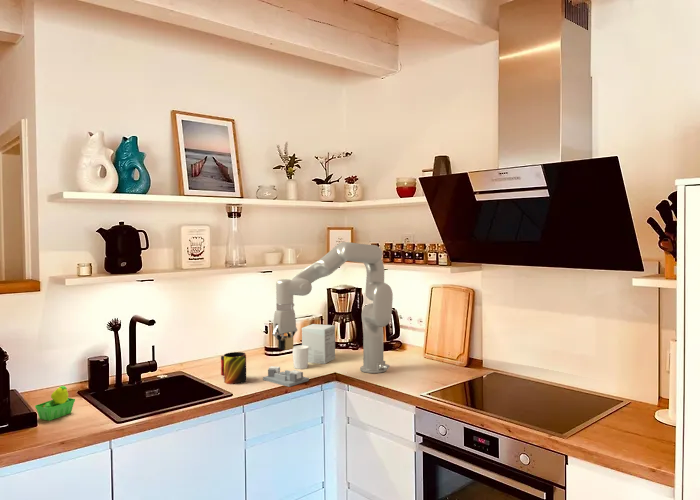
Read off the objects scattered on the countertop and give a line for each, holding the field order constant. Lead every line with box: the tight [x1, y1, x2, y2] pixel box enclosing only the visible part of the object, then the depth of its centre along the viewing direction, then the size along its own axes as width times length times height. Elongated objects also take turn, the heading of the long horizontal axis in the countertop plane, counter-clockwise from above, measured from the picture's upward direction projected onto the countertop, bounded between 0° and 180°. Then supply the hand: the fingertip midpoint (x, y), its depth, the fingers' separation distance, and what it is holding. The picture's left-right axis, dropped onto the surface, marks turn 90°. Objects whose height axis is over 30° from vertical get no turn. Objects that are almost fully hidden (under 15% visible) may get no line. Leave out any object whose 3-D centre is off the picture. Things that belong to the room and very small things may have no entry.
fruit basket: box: [34, 385, 76, 422], centre depth 193 cm, size 11×9×11 cm
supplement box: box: [301, 323, 336, 365], centre depth 274 cm, size 13×13×18 cm
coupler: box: [276, 335, 294, 351], centre depth 237 cm, size 6×4×5 cm, turn 50°
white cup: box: [291, 344, 309, 370], centre depth 260 cm, size 8×8×10 cm
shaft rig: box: [262, 365, 310, 388], centre depth 238 cm, size 18×12×5 cm
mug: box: [220, 351, 247, 385], centre depth 237 cm, size 10×14×12 cm
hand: (285, 347), depth 237 cm, fingers closed on coupler, 4 cm apart
